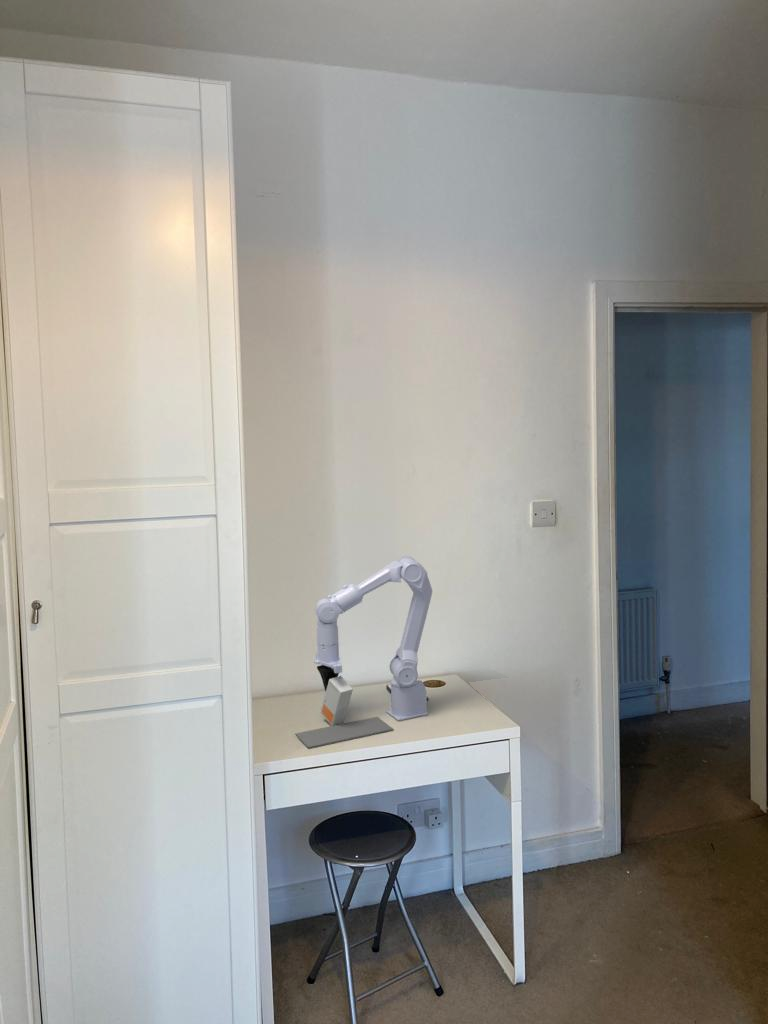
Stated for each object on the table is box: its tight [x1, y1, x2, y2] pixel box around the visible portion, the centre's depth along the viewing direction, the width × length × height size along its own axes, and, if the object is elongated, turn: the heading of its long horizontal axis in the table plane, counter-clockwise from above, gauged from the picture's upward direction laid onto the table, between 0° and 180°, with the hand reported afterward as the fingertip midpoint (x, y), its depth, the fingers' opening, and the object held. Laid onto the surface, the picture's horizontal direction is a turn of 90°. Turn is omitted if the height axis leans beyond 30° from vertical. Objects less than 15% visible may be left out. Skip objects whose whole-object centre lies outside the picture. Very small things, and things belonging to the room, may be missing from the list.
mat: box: [294, 716, 394, 750], centre depth 206 cm, size 24×10×1 cm, turn 116°
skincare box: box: [320, 675, 354, 726], centre depth 211 cm, size 6×4×12 cm
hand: (329, 691), depth 213 cm, fingers closed
